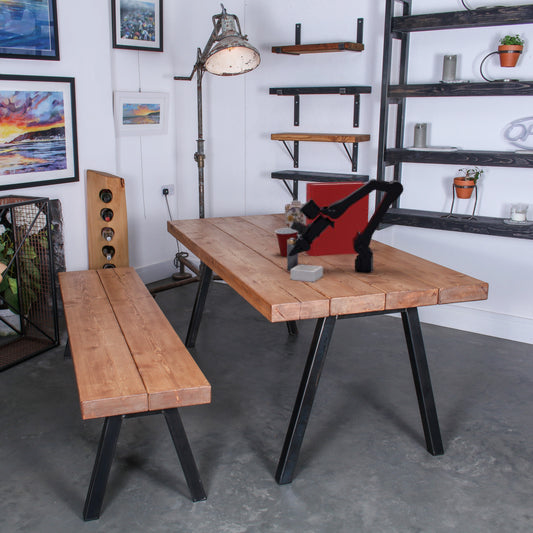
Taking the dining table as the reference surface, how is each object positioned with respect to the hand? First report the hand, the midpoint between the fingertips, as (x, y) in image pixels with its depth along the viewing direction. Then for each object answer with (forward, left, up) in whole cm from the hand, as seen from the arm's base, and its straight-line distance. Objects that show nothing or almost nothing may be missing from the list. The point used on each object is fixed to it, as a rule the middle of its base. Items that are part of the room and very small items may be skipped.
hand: (289, 254), depth 251 cm
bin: (-11, +8, -7) cm, 16 cm away
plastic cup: (+12, -24, -7) cm, 27 cm away
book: (-6, -39, -7) cm, 40 cm away
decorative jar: (+28, -71, -7) cm, 76 cm away
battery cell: (-1, -1, -7) cm, 7 cm away
